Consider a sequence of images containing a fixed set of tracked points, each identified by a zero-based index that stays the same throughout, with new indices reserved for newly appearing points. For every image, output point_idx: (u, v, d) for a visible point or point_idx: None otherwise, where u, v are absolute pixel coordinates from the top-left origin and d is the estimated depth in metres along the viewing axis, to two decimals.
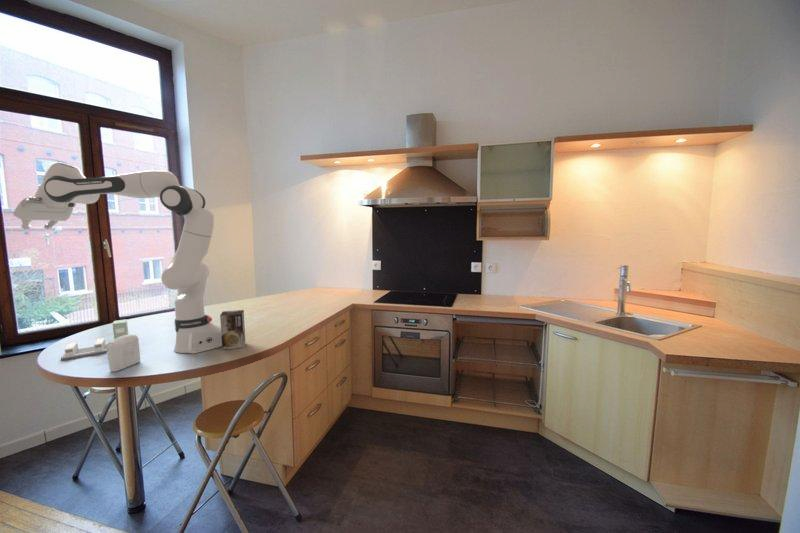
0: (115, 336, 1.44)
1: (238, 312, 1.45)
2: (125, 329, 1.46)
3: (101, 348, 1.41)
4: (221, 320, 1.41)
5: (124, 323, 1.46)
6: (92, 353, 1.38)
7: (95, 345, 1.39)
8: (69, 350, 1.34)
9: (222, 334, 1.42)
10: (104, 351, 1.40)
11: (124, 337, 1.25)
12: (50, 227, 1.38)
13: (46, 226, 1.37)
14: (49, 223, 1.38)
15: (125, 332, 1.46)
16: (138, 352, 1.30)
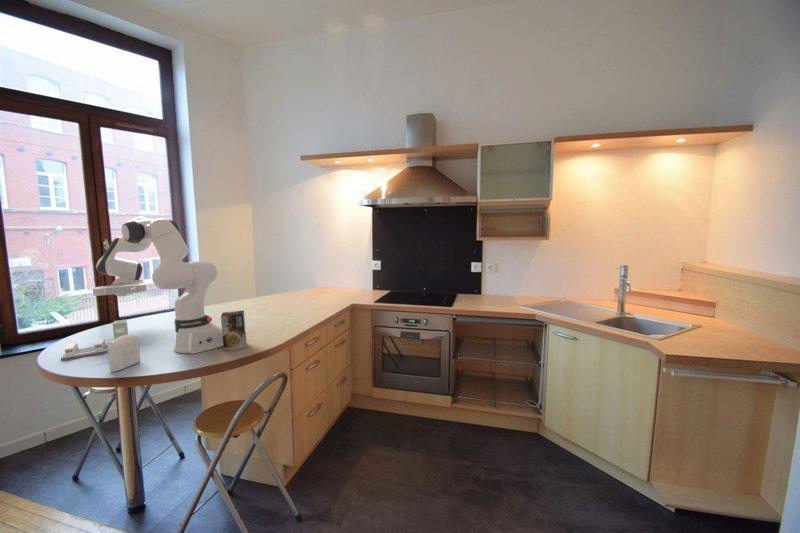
0: (115, 336, 1.44)
1: (239, 312, 1.45)
2: (125, 329, 1.46)
3: (101, 348, 1.41)
4: (222, 321, 1.41)
5: (124, 323, 1.46)
6: (92, 353, 1.38)
7: (95, 345, 1.39)
8: (69, 350, 1.34)
9: (223, 335, 1.42)
10: (104, 351, 1.40)
11: (124, 337, 1.25)
12: (132, 288, 1.58)
13: (130, 290, 1.58)
14: None
15: (125, 332, 1.46)
16: (138, 352, 1.30)
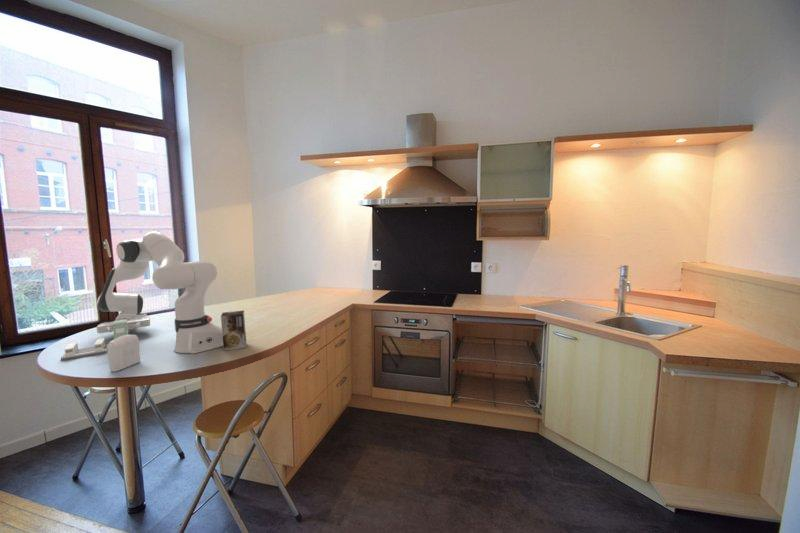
0: (115, 336, 1.44)
1: (239, 312, 1.45)
2: (125, 329, 1.46)
3: (101, 348, 1.41)
4: (222, 321, 1.41)
5: (124, 323, 1.46)
6: (92, 353, 1.38)
7: (95, 345, 1.39)
8: (69, 350, 1.34)
9: (223, 335, 1.42)
10: (104, 351, 1.40)
11: (124, 337, 1.25)
12: (135, 324, 1.58)
13: (134, 326, 1.58)
14: None
15: (125, 332, 1.46)
16: (138, 352, 1.30)
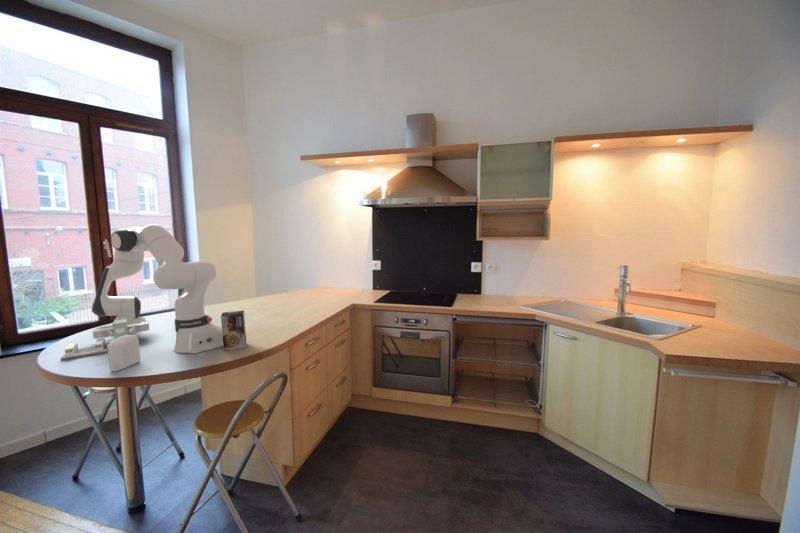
0: (115, 336, 1.44)
1: (239, 312, 1.45)
2: (125, 329, 1.46)
3: (101, 348, 1.41)
4: (222, 321, 1.41)
5: (124, 323, 1.46)
6: (92, 353, 1.38)
7: (95, 345, 1.39)
8: (69, 350, 1.34)
9: (223, 335, 1.42)
10: (104, 351, 1.40)
11: (124, 337, 1.25)
12: (129, 329, 1.49)
13: None
14: None
15: (125, 332, 1.46)
16: (138, 352, 1.30)
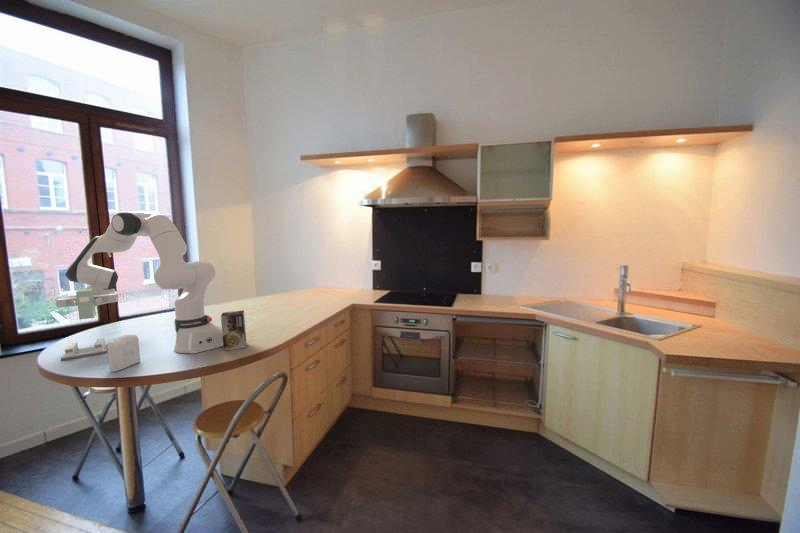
0: (79, 305, 1.36)
1: (239, 312, 1.45)
2: (90, 298, 1.38)
3: (101, 348, 1.41)
4: (222, 321, 1.41)
5: (89, 292, 1.38)
6: (92, 353, 1.38)
7: (95, 345, 1.39)
8: (69, 350, 1.34)
9: (223, 335, 1.42)
10: (104, 351, 1.40)
11: (124, 337, 1.25)
12: (95, 299, 1.41)
13: (93, 302, 1.41)
14: None
15: (90, 301, 1.38)
16: (138, 352, 1.30)
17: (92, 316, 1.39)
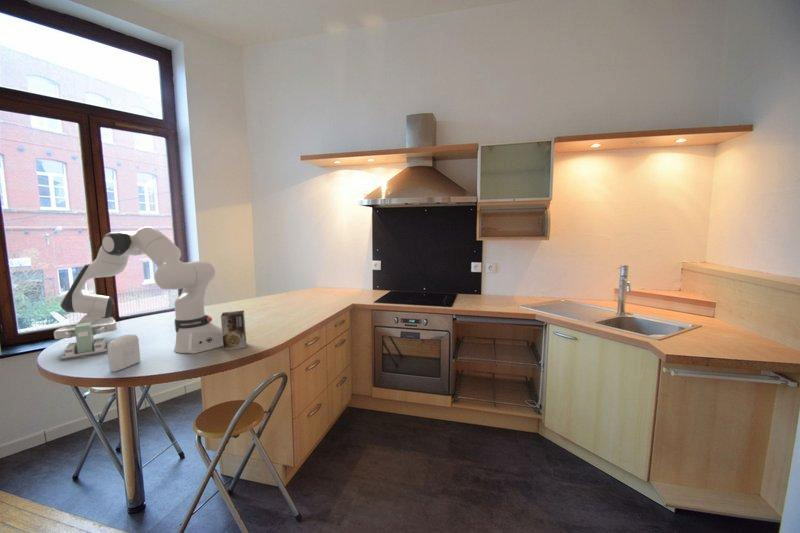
0: (78, 340, 1.37)
1: (239, 312, 1.45)
2: (89, 332, 1.39)
3: (101, 348, 1.41)
4: (222, 321, 1.41)
5: (87, 326, 1.38)
6: (92, 353, 1.38)
7: (95, 345, 1.39)
8: (69, 350, 1.34)
9: (223, 335, 1.42)
10: (104, 351, 1.40)
11: (124, 337, 1.25)
12: (98, 329, 1.43)
13: (97, 331, 1.43)
14: None
15: (89, 336, 1.39)
16: (138, 352, 1.30)
17: (91, 350, 1.40)
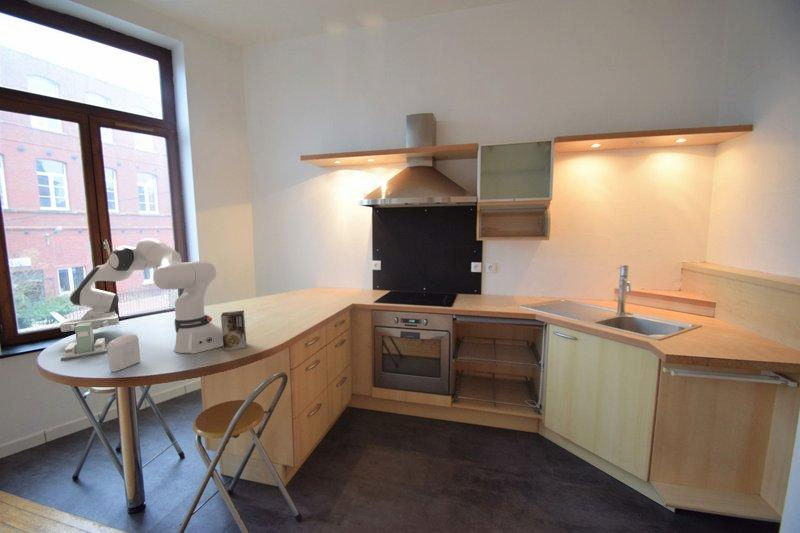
0: (78, 340, 1.37)
1: (239, 312, 1.45)
2: (89, 332, 1.39)
3: (101, 348, 1.41)
4: (222, 321, 1.41)
5: (87, 326, 1.38)
6: (92, 353, 1.38)
7: (95, 345, 1.39)
8: (69, 350, 1.34)
9: (223, 335, 1.42)
10: (104, 351, 1.40)
11: (124, 337, 1.25)
12: (102, 322, 1.52)
13: (100, 325, 1.52)
14: None
15: (89, 336, 1.39)
16: (138, 352, 1.30)
17: (91, 350, 1.40)
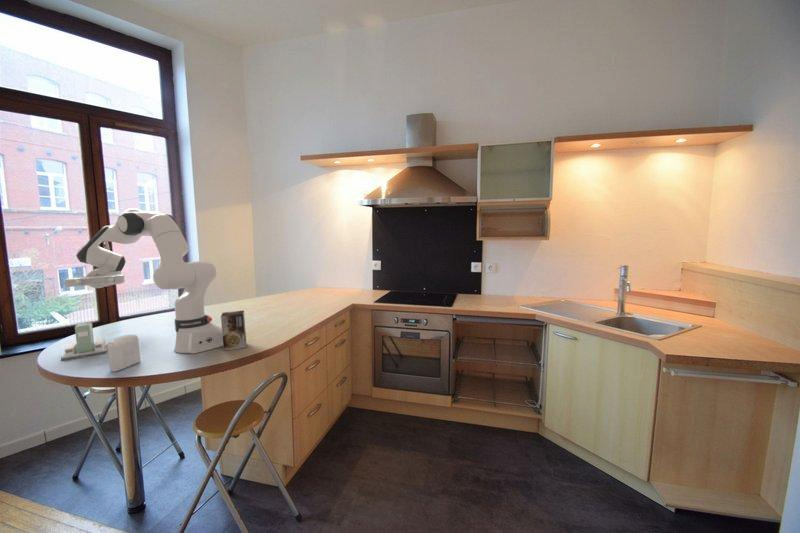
0: (78, 340, 1.37)
1: (239, 312, 1.45)
2: (89, 332, 1.39)
3: (101, 348, 1.41)
4: (222, 321, 1.41)
5: (87, 326, 1.38)
6: (92, 353, 1.38)
7: (95, 345, 1.39)
8: (69, 350, 1.34)
9: (223, 335, 1.42)
10: (104, 351, 1.40)
11: (124, 337, 1.25)
12: (107, 279, 1.49)
13: (106, 281, 1.49)
14: None
15: (89, 336, 1.39)
16: (138, 352, 1.30)
17: (91, 350, 1.40)
